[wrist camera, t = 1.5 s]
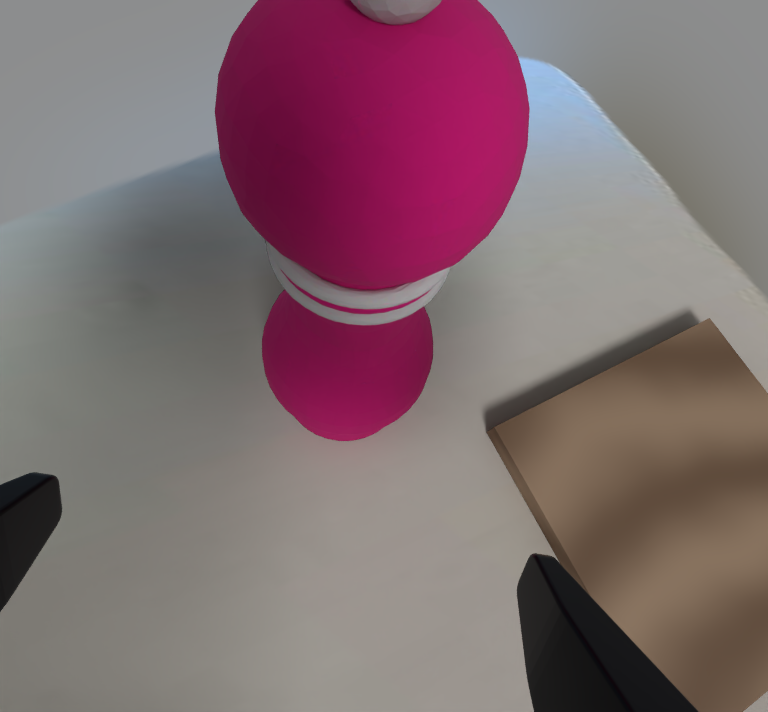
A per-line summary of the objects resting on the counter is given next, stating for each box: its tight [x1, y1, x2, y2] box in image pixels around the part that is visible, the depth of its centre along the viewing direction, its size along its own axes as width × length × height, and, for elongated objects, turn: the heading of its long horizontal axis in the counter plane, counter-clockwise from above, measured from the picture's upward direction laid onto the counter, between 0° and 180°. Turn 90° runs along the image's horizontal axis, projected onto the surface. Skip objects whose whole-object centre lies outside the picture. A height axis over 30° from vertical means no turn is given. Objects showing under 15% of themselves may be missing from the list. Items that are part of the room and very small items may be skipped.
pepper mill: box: [215, 0, 529, 441], centre depth 15 cm, size 7×7×20 cm
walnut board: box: [487, 318, 768, 712], centre depth 23 cm, size 15×15×1 cm
